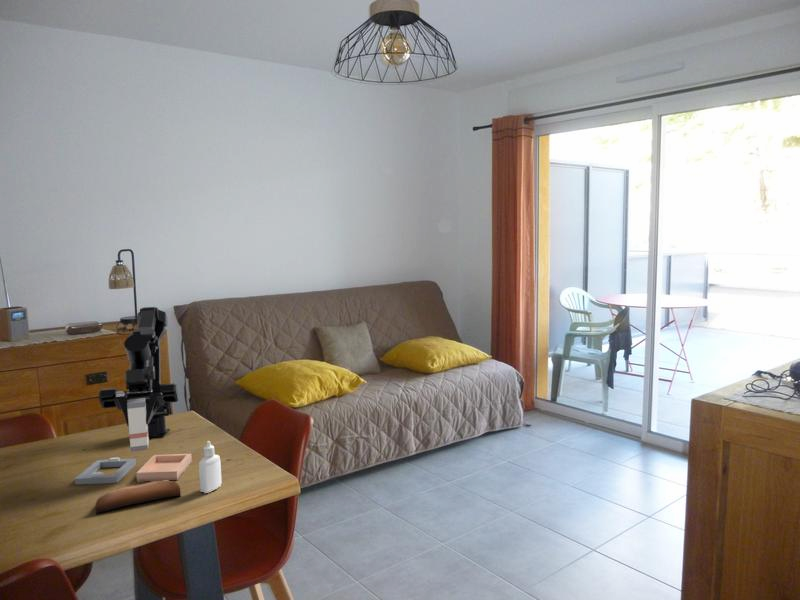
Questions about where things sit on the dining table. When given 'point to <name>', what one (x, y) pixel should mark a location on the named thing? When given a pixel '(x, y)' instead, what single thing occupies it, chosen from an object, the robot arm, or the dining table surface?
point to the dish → (164, 467)
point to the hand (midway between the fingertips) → (137, 424)
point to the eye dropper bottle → (209, 470)
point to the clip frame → (97, 477)
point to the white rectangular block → (138, 424)
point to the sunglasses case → (137, 495)
